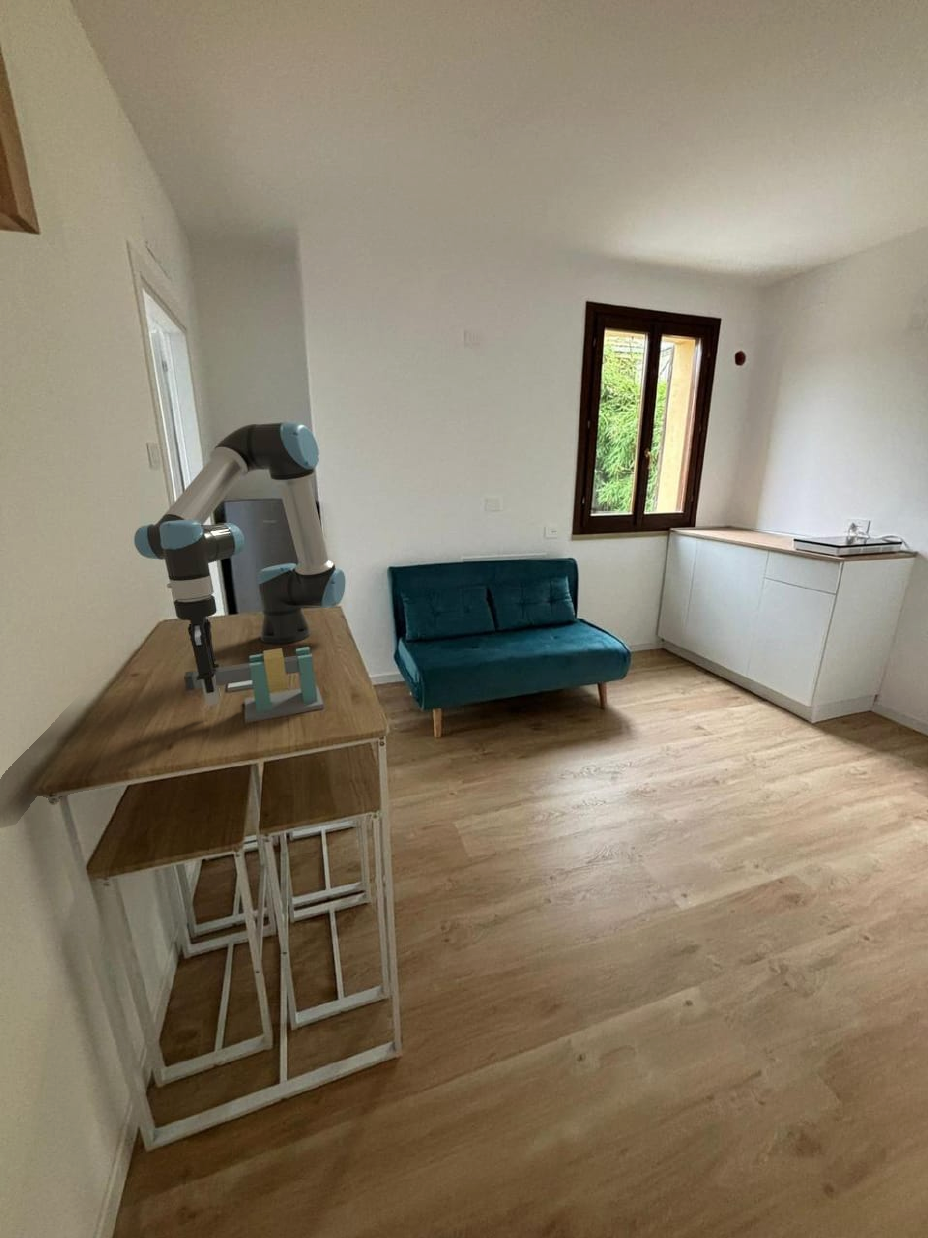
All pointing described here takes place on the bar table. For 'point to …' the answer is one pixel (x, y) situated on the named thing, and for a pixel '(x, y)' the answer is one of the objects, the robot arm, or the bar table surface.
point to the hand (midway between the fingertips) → (213, 700)
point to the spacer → (275, 670)
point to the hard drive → (240, 685)
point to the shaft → (236, 673)
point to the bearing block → (285, 701)
